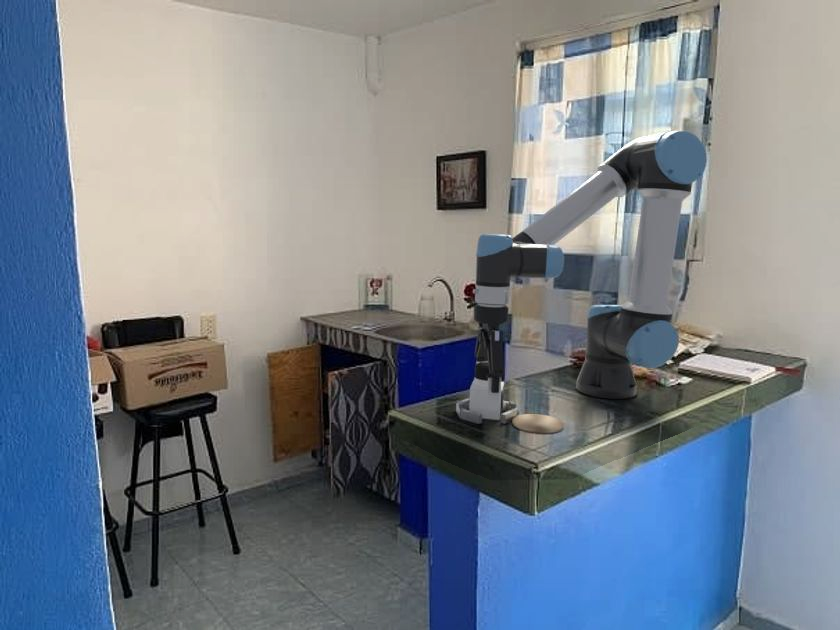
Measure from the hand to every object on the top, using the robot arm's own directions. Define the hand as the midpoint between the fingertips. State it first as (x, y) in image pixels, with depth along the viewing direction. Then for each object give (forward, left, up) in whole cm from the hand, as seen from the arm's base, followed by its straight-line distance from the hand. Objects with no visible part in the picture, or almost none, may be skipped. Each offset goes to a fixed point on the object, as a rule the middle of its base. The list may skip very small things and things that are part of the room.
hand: (486, 397), depth 141 cm
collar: (0, 0, -4) cm, 4 cm away
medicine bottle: (0, 0, -4) cm, 4 cm away
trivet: (-10, +7, -4) cm, 13 cm away
